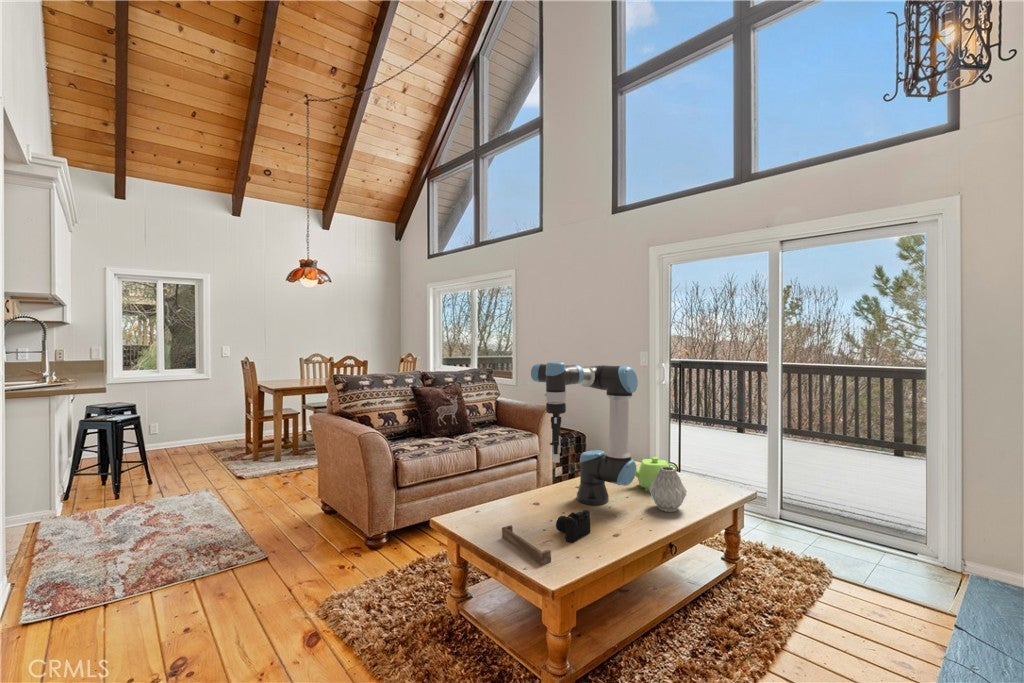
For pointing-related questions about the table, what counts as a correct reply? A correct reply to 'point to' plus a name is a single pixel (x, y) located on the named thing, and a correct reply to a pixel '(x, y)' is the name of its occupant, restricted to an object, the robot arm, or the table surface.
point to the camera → (574, 525)
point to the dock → (526, 546)
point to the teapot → (650, 471)
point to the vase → (667, 490)
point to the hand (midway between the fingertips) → (556, 457)
